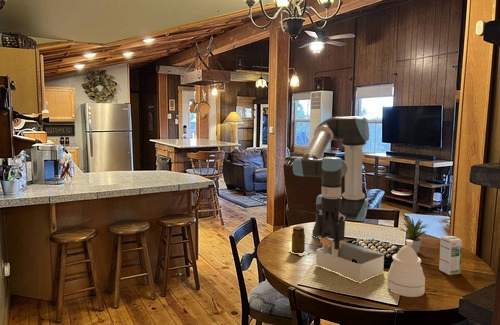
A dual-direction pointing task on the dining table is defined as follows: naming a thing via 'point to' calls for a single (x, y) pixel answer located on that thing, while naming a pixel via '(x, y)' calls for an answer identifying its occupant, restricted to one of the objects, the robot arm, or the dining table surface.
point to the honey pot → (406, 273)
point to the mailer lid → (342, 243)
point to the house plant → (414, 234)
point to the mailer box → (351, 263)
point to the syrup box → (450, 255)
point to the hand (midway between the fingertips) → (330, 254)
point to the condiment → (298, 240)
